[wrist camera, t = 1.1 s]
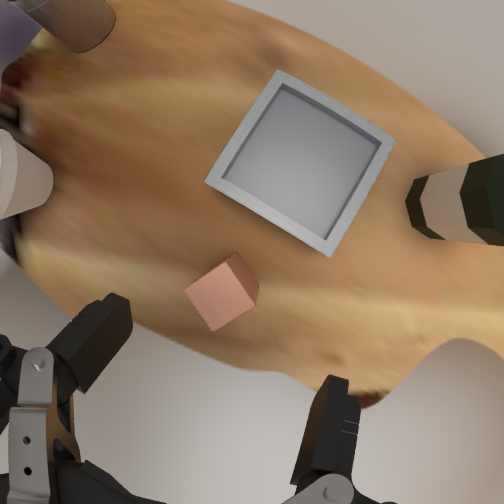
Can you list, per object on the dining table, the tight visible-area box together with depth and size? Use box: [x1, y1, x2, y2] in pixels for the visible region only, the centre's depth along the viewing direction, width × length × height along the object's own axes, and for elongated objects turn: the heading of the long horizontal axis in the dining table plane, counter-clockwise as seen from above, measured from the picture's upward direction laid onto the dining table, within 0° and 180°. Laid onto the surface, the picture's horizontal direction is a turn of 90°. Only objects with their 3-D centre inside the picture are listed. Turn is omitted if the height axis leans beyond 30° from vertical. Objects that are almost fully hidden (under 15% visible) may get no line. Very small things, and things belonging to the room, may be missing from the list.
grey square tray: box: [204, 70, 396, 258], centre depth 32 cm, size 14×14×7 cm
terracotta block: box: [184, 252, 259, 332], centre depth 32 cm, size 5×5×10 cm
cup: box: [0, 129, 53, 220], centre depth 31 cm, size 12×12×14 cm
